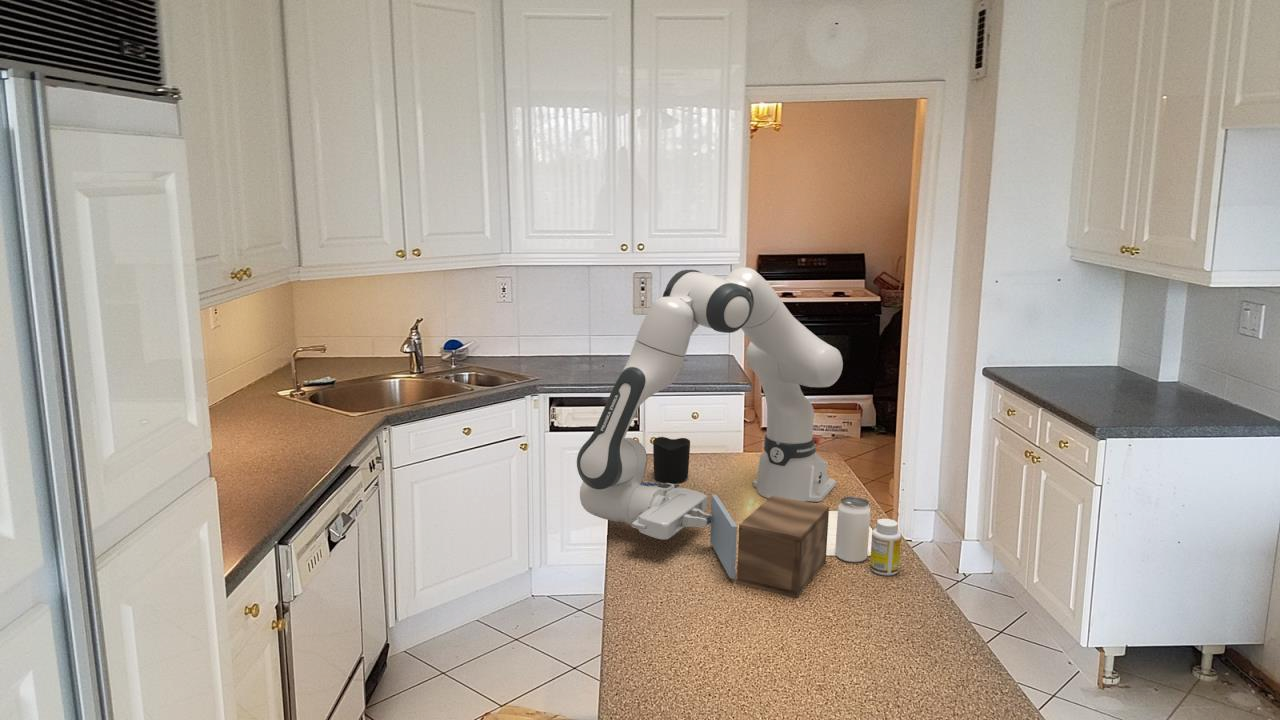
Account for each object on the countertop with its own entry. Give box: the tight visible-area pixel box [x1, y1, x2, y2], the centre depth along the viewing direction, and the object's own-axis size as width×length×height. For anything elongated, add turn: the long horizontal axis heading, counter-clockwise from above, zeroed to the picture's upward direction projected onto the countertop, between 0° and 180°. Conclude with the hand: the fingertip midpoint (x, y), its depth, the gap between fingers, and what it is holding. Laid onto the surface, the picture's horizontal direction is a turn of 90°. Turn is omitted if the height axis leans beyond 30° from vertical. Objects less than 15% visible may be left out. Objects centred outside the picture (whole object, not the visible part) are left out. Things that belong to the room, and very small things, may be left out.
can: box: [834, 496, 871, 564], centre depth 186 cm, size 6×6×12 cm
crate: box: [736, 496, 830, 599], centre depth 177 cm, size 18×12×12 cm, turn 152°
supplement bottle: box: [869, 518, 902, 576], centre depth 179 cm, size 6×6×10 cm
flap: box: [709, 493, 738, 579], centre depth 181 cm, size 18×1×10 cm, turn 8°
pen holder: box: [652, 436, 691, 485], centre depth 232 cm, size 9×9×10 cm
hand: (709, 521), depth 186 cm, fingers closed
